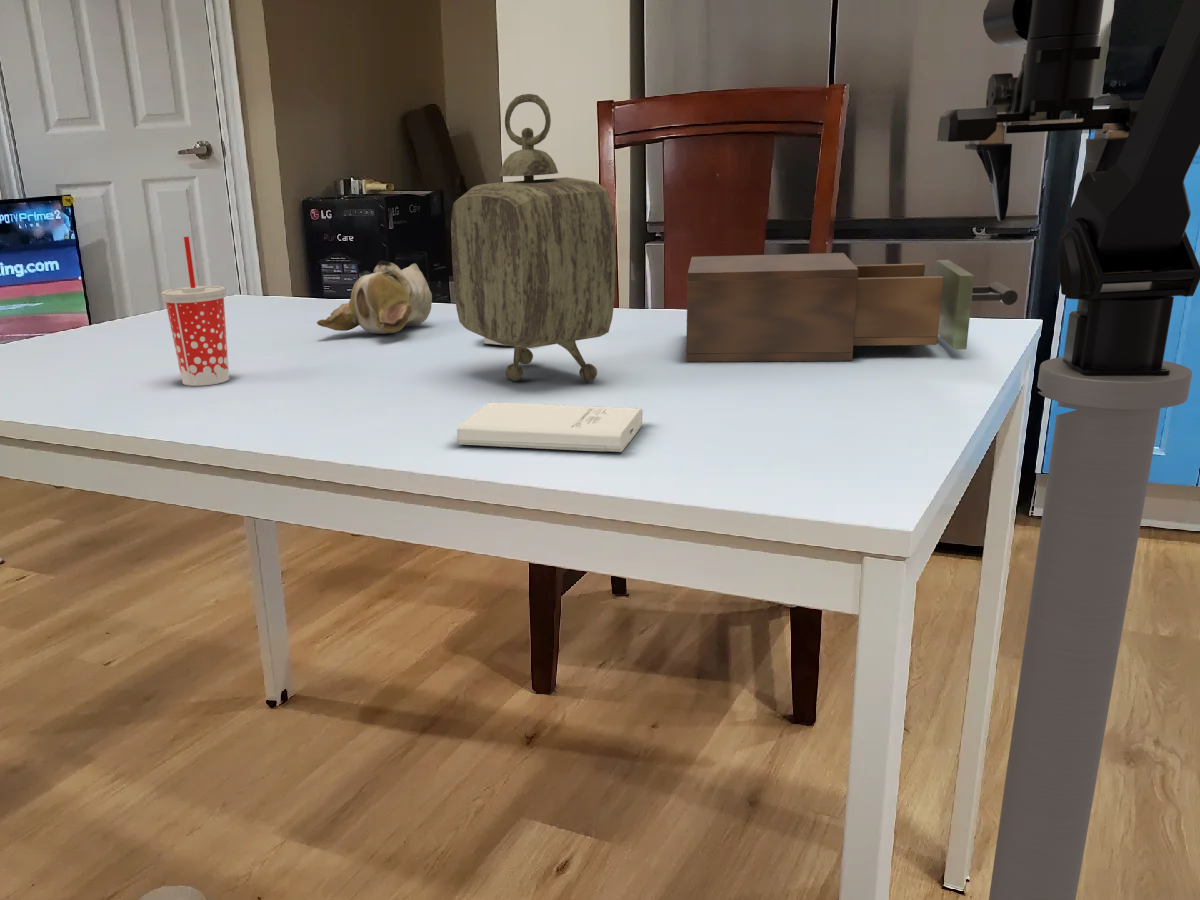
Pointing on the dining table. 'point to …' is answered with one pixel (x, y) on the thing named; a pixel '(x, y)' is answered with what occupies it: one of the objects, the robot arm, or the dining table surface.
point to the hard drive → (551, 427)
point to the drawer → (918, 304)
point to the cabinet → (771, 308)
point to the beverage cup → (198, 330)
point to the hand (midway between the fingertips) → (1040, 219)
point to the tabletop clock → (534, 255)
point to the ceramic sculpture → (384, 301)
